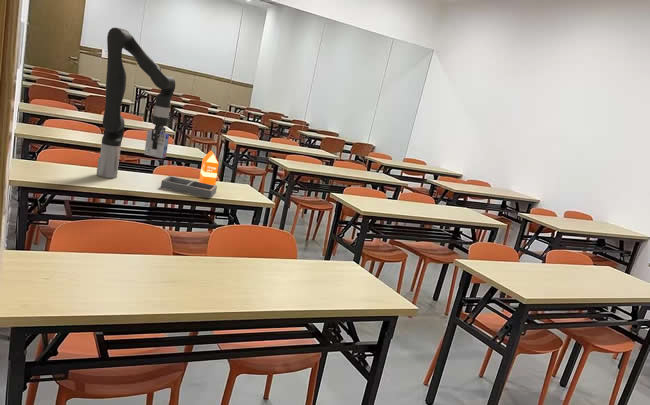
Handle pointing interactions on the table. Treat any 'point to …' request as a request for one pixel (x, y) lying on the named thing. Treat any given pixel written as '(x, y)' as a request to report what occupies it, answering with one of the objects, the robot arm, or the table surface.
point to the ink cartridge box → (161, 145)
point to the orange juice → (209, 169)
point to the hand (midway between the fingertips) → (156, 148)
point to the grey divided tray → (189, 186)
